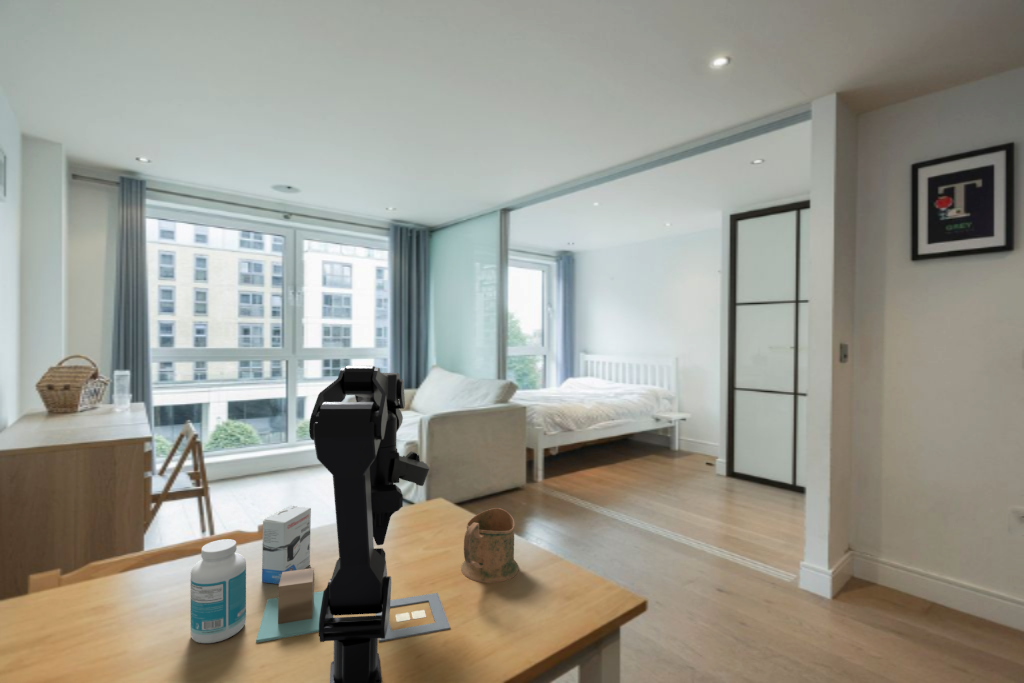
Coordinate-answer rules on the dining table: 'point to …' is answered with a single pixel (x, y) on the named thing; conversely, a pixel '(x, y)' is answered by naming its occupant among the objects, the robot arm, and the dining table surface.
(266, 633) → the mat
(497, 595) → the dining table surface
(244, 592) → the pill bottle
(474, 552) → the mug
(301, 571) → the block
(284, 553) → the ink box
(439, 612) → the frame
